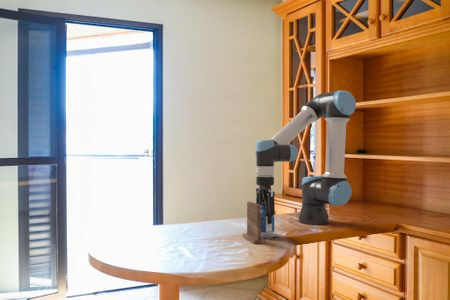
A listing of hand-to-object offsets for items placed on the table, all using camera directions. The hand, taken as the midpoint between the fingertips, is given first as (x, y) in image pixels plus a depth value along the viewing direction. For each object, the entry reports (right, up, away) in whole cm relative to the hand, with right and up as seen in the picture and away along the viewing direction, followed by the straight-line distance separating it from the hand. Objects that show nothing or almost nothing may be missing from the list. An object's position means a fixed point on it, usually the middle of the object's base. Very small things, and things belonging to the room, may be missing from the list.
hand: (264, 229), depth 169 cm
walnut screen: (-5, -3, -7) cm, 10 cm away
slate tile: (0, -3, 0) cm, 3 cm away
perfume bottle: (0, -1, 0) cm, 1 cm away
